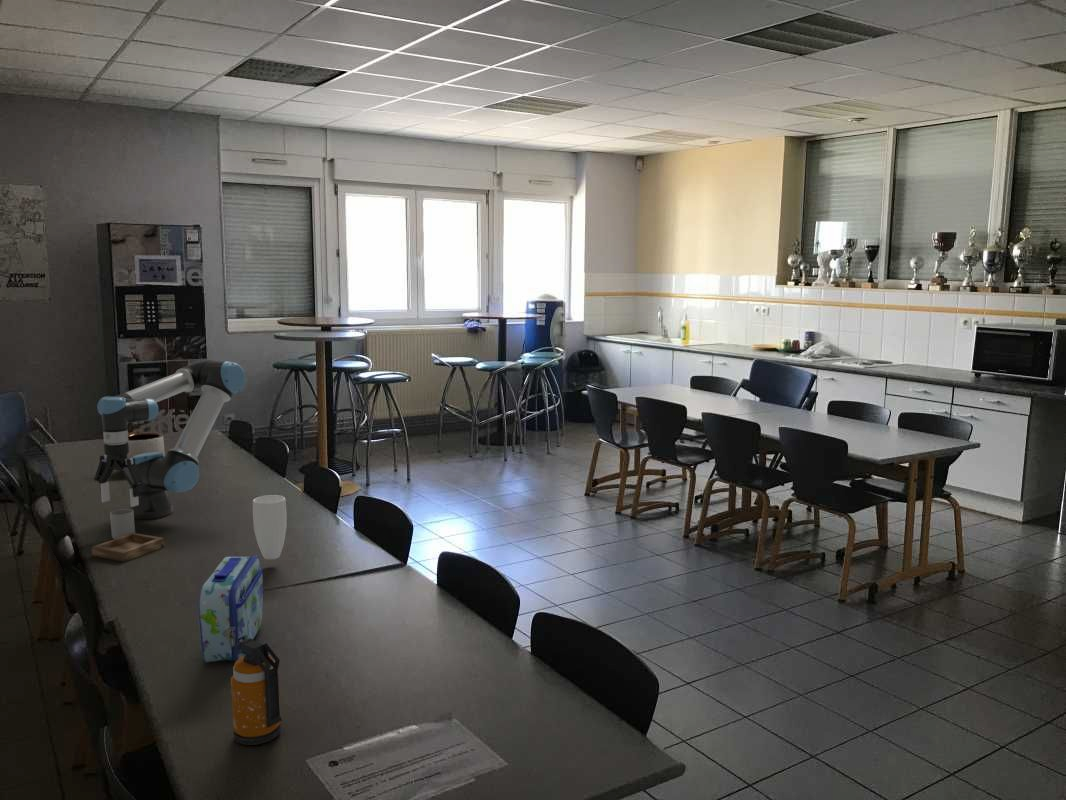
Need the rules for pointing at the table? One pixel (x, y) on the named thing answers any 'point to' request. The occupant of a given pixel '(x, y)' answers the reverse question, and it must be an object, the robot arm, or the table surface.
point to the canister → (255, 694)
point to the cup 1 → (122, 522)
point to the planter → (145, 443)
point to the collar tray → (128, 547)
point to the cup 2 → (270, 524)
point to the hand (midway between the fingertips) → (120, 503)
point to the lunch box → (230, 607)
